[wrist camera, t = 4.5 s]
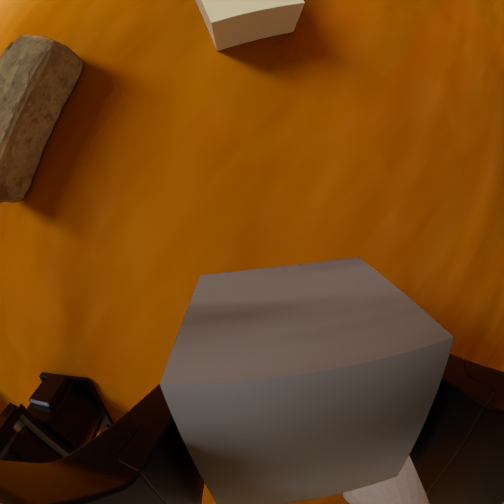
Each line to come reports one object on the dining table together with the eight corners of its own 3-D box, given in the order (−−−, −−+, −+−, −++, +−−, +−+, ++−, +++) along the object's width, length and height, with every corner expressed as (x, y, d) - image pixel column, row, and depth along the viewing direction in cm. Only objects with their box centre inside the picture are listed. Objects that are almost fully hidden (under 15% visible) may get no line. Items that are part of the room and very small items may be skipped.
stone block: (95, 60, 14) (58, 36, 9) (31, 205, 16) (-14, 218, 12) (48, 45, 13) (11, 27, 8) (-7, 176, 15) (-49, 183, 11)
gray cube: (351, 377, 10) (397, 476, 5) (224, 394, 10) (218, 506, 5) (358, 257, 9) (454, 336, 4) (200, 275, 9) (159, 384, 4)
